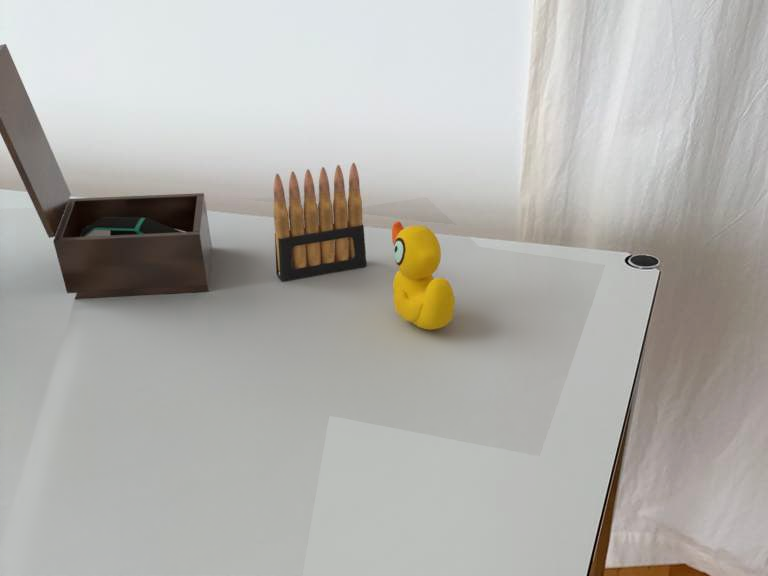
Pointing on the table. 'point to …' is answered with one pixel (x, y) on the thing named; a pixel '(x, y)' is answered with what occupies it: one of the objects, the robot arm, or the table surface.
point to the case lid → (30, 147)
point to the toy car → (125, 227)
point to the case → (135, 247)
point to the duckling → (420, 278)
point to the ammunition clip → (318, 227)
